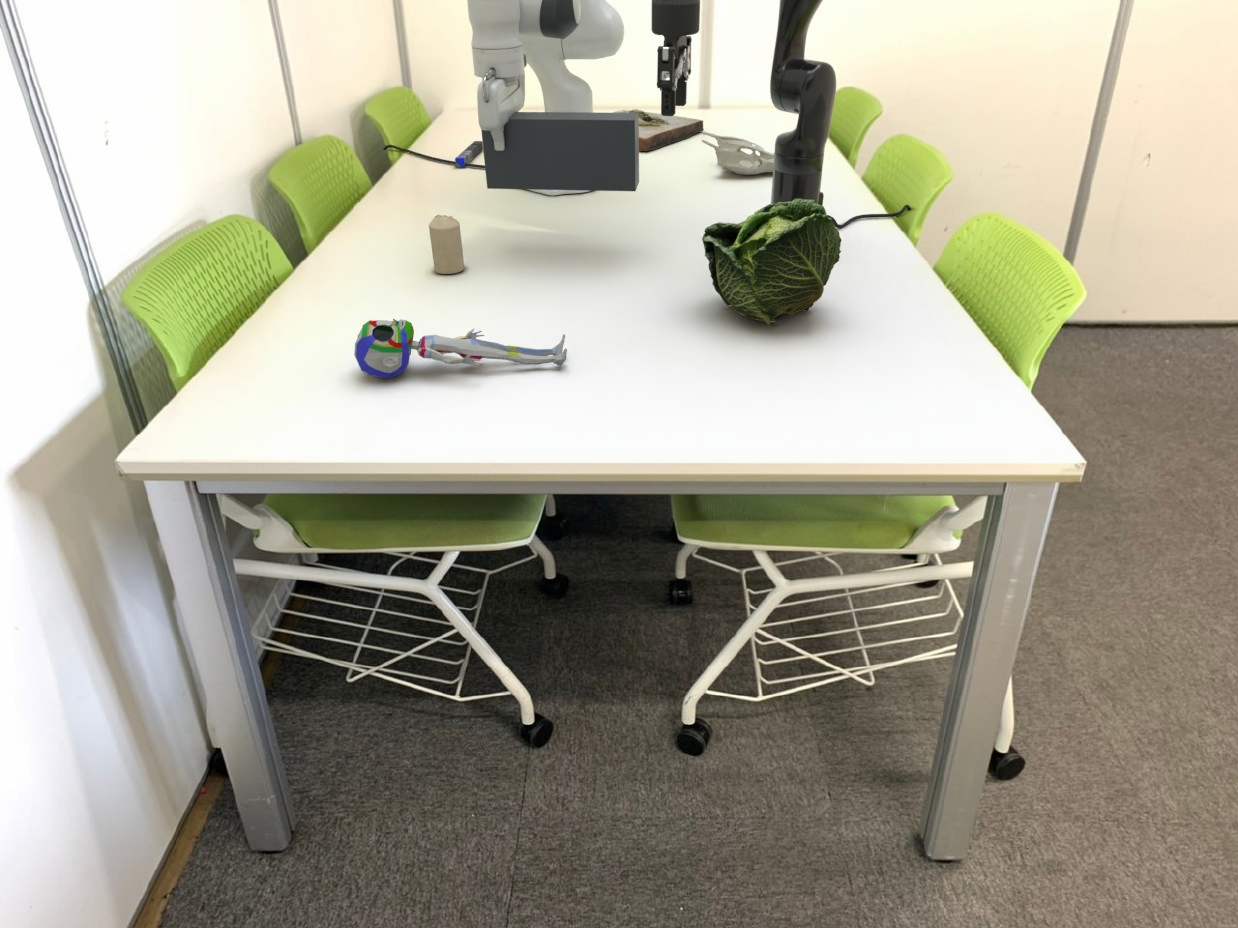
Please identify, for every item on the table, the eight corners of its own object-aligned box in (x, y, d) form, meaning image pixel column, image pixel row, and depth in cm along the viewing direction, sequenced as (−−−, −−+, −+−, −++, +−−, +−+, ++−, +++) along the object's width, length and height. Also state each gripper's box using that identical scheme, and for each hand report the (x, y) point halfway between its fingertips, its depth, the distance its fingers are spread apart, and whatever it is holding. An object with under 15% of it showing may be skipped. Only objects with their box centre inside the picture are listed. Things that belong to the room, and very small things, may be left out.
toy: (569, 347, 126) (349, 329, 122) (563, 400, 131) (350, 385, 126) (565, 318, 135) (359, 301, 130) (559, 369, 139) (360, 354, 134)
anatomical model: (704, 128, 226) (804, 127, 222) (703, 165, 231) (801, 165, 227) (699, 142, 214) (805, 141, 210) (699, 181, 219) (803, 181, 215)
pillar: (482, 141, 246) (462, 159, 229) (483, 149, 247) (463, 167, 230) (474, 141, 246) (454, 159, 230) (475, 149, 247) (455, 167, 231)
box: (487, 188, 167) (480, 119, 160) (494, 180, 172) (488, 111, 165) (635, 191, 164) (634, 120, 157) (639, 182, 168) (638, 113, 161)
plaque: (647, 125, 237) (559, 112, 252) (647, 153, 241) (560, 139, 256) (706, 107, 258) (622, 97, 273) (705, 133, 262) (622, 121, 277)
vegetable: (733, 339, 155) (677, 239, 148) (822, 277, 157) (772, 174, 149) (783, 360, 137) (723, 247, 129) (884, 290, 138) (830, 173, 131)
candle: (469, 265, 169) (463, 213, 163) (455, 275, 164) (449, 221, 159) (443, 262, 170) (437, 210, 165) (429, 272, 166) (422, 219, 160)
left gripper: (501, 75, 148) (508, 160, 156) (528, 54, 165) (533, 131, 173) (464, 74, 149) (473, 159, 157) (495, 53, 166) (502, 131, 174)
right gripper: (690, 4, 132) (687, 120, 140) (708, -5, 143) (704, 103, 152) (641, 4, 133) (641, 118, 142) (662, -5, 145) (661, 101, 154)
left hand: (505, 144), depth 165 cm, fingers closed on box, 6 cm apart
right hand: (674, 110), depth 147 cm, fingers open, 8 cm apart
